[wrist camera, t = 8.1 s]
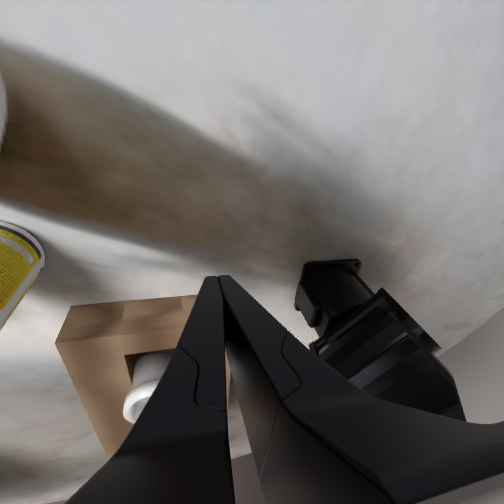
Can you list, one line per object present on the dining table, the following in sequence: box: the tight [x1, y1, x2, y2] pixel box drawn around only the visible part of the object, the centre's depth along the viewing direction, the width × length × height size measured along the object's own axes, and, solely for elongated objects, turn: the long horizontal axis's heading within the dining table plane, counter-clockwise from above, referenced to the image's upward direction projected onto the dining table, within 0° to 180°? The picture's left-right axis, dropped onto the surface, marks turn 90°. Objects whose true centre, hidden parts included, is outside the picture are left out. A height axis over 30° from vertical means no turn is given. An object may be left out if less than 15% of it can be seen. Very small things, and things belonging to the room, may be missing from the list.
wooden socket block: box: [55, 295, 231, 456], centre depth 29 cm, size 14×20×4 cm
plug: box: [123, 352, 172, 423], centre depth 23 cm, size 5×5×4 cm
